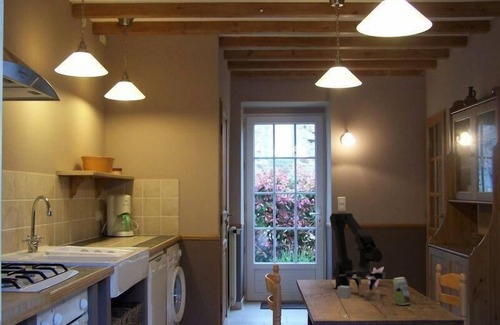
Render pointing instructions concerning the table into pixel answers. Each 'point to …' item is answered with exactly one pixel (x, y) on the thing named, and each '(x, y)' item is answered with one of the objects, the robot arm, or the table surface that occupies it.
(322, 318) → the table surface
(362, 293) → the terracotta block
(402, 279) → the beverage can
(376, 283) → the lily
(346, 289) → the slate-grey block
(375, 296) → the walnut block
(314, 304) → the table surface
